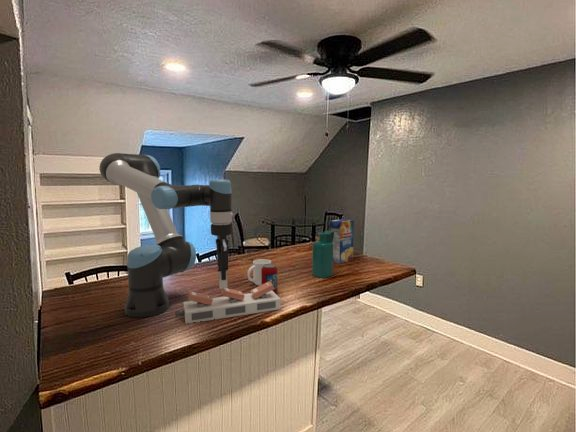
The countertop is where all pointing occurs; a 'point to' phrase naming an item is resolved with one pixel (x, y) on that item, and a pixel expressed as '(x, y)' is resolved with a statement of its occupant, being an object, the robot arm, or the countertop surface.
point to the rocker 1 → (200, 297)
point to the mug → (257, 270)
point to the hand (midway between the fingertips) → (223, 287)
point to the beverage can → (269, 275)
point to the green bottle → (323, 255)
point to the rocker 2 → (232, 293)
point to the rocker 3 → (262, 289)
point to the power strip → (229, 307)
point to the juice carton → (342, 240)
